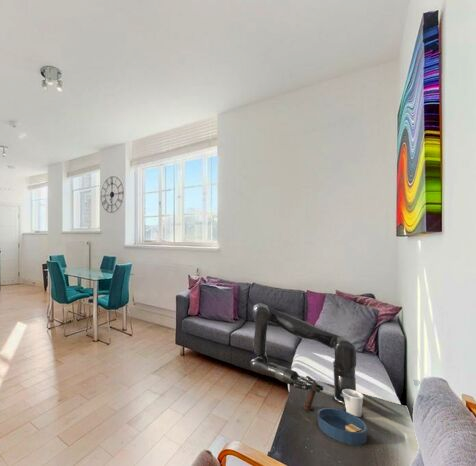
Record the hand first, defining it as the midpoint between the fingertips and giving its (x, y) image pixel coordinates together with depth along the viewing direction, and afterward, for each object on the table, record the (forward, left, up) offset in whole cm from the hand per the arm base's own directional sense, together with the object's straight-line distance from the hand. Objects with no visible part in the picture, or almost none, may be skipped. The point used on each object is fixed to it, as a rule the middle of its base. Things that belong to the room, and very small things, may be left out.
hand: (321, 389), depth 137 cm
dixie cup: (-15, +7, -13) cm, 21 cm away
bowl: (+5, +10, -13) cm, 17 cm away
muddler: (0, -7, -12) cm, 14 cm away
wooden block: (+5, +15, -12) cm, 20 cm away
